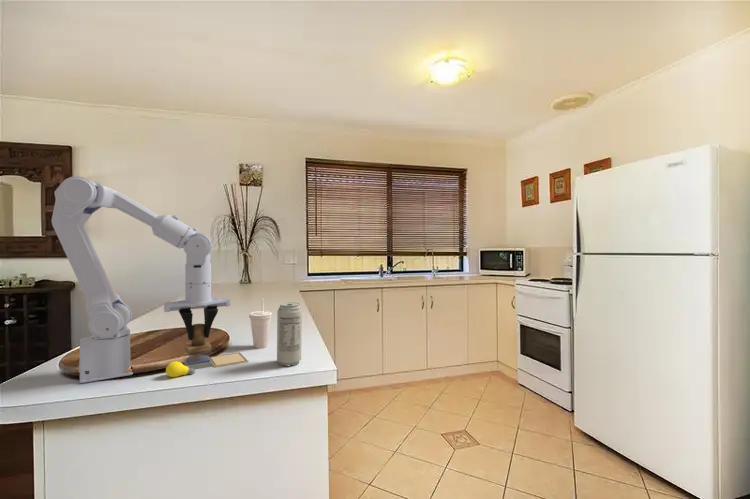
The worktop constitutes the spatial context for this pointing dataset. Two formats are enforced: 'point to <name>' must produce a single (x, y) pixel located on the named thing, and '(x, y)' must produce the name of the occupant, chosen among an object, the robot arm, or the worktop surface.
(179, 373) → the light bulb
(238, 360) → the card sheet
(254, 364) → the worktop surface
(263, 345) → the smoothie
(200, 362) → the ink pad
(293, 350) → the energy drink can
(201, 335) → the stamp
